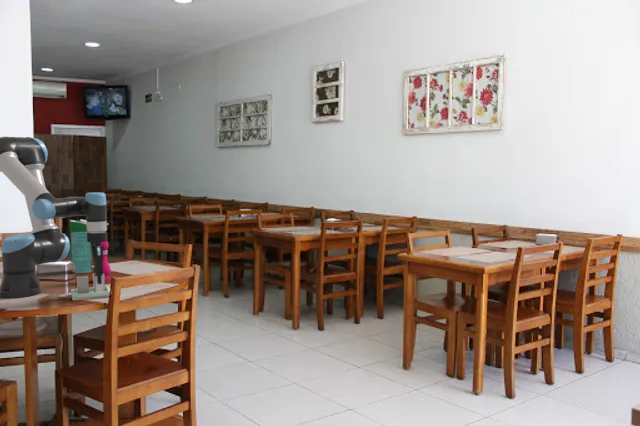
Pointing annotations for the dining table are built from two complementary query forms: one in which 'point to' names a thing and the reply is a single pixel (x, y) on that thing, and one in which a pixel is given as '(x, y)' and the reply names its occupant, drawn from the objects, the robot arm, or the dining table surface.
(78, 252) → the milk carton
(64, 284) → the dining table surface
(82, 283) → the stone
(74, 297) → the bin
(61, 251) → the robot arm
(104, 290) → the stone
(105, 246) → the pepper mill
